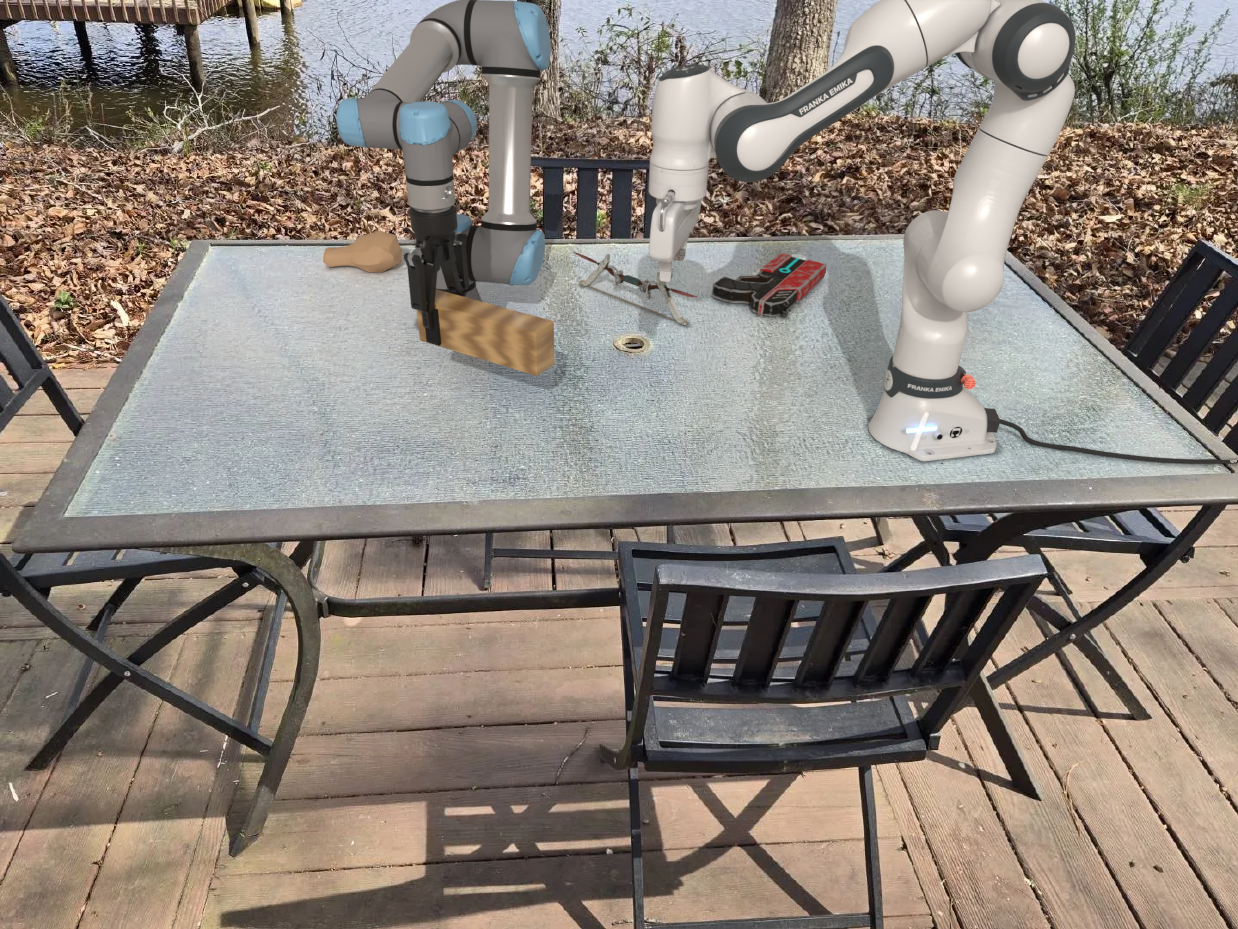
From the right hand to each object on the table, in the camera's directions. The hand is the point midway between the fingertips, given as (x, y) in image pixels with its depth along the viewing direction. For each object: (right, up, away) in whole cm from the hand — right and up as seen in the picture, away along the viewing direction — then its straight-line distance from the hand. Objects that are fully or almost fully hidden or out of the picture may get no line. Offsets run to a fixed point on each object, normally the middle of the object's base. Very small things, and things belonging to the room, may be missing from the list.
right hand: (672, 269), depth 140 cm
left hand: (-39, -9, +15) cm, 43 cm away
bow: (-6, +7, +67) cm, 68 cm away
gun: (+29, +12, +76) cm, 82 cm away
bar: (-32, -12, +11) cm, 36 cm away
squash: (-73, +19, +82) cm, 112 cm away
